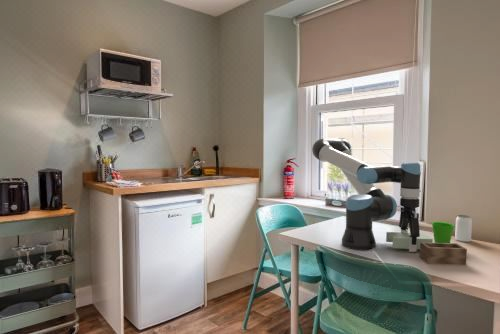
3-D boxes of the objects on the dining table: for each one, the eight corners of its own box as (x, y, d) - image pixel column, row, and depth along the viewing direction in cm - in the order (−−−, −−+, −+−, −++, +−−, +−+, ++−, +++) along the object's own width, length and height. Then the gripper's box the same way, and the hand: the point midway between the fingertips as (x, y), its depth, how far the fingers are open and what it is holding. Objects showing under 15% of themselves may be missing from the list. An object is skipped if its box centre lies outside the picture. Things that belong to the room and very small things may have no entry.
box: (427, 265, 120) (428, 247, 119) (419, 258, 126) (420, 242, 126) (466, 266, 118) (466, 249, 117) (456, 260, 125) (456, 243, 124)
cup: (432, 243, 146) (433, 220, 146) (454, 247, 141) (455, 223, 140) (428, 248, 139) (429, 224, 139) (452, 252, 134) (453, 227, 133)
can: (473, 242, 147) (474, 218, 146) (458, 241, 149) (459, 217, 148) (467, 238, 154) (468, 215, 153) (452, 237, 155) (453, 214, 154)
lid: (393, 248, 132) (393, 237, 132) (386, 241, 141) (386, 232, 141) (432, 249, 130) (432, 239, 130) (422, 242, 139) (423, 233, 139)
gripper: (430, 202, 123) (428, 256, 125) (408, 193, 145) (407, 240, 146) (410, 202, 124) (409, 256, 126) (392, 193, 146) (390, 239, 147)
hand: (408, 247), depth 136 cm, fingers closed on lid, 9 cm apart
